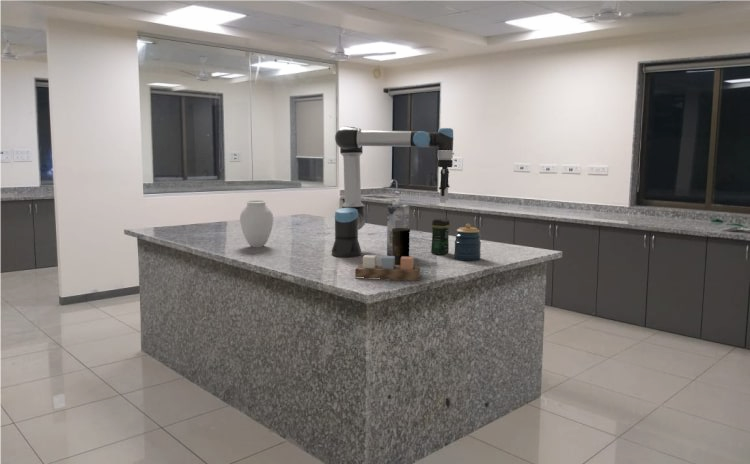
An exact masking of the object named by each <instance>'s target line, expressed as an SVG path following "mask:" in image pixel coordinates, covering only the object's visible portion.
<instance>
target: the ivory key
mask: <svg viewBox="0 0 750 464" xmlns="http://www.w3.org/2000/svg"><path fill="white" fill-rule="evenodd" d="M362 264H363V268H376V264H377V255H373V254H371V255H370V254H365V255H363V257H362Z"/></svg>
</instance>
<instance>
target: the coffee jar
mask: <svg viewBox="0 0 750 464" xmlns="http://www.w3.org/2000/svg"><path fill="white" fill-rule="evenodd" d="M431 231H432V233H431V235H432V237H431V249H430V252H431V254H433V255H446V254H449V252H450V251H449V248H450V247H449V245H450V244H449V238H450V237H449V236H450V235H449V234H450V233H449V231H450V219H448V218H446V217H438V218H434V219H433V220H432V222H431Z"/></svg>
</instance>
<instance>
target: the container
mask: <svg viewBox="0 0 750 464" xmlns="http://www.w3.org/2000/svg"><path fill="white" fill-rule="evenodd" d="M392 232H393V233H392V234H393V237H392V256H395V265H401V257H402V256H404V257H410V234H411V228H409V229H408V228H393V229H392Z"/></svg>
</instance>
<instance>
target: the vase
mask: <svg viewBox="0 0 750 464" xmlns="http://www.w3.org/2000/svg"><path fill="white" fill-rule="evenodd" d="M266 203H267V201H265V200H248V201H246V204H247V205H246V206H245V207H244V208H243V209H242V211H241V213H240V216H239V224H240V226H241V230H242V231H241V232H242V234H243V236H244V238H245V241H246V242H247V244H248V245H249V247H251V246H252V247H261V246H264V247H265V245H266V244H267V242H268V240H269V238H270V235H271V233H272V229H273V226H274V216H273V212H272V210H271V209H270V208H269V207H268V206H267V205H266ZM252 247H251V248H252ZM261 248H262V247H261Z"/></svg>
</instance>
